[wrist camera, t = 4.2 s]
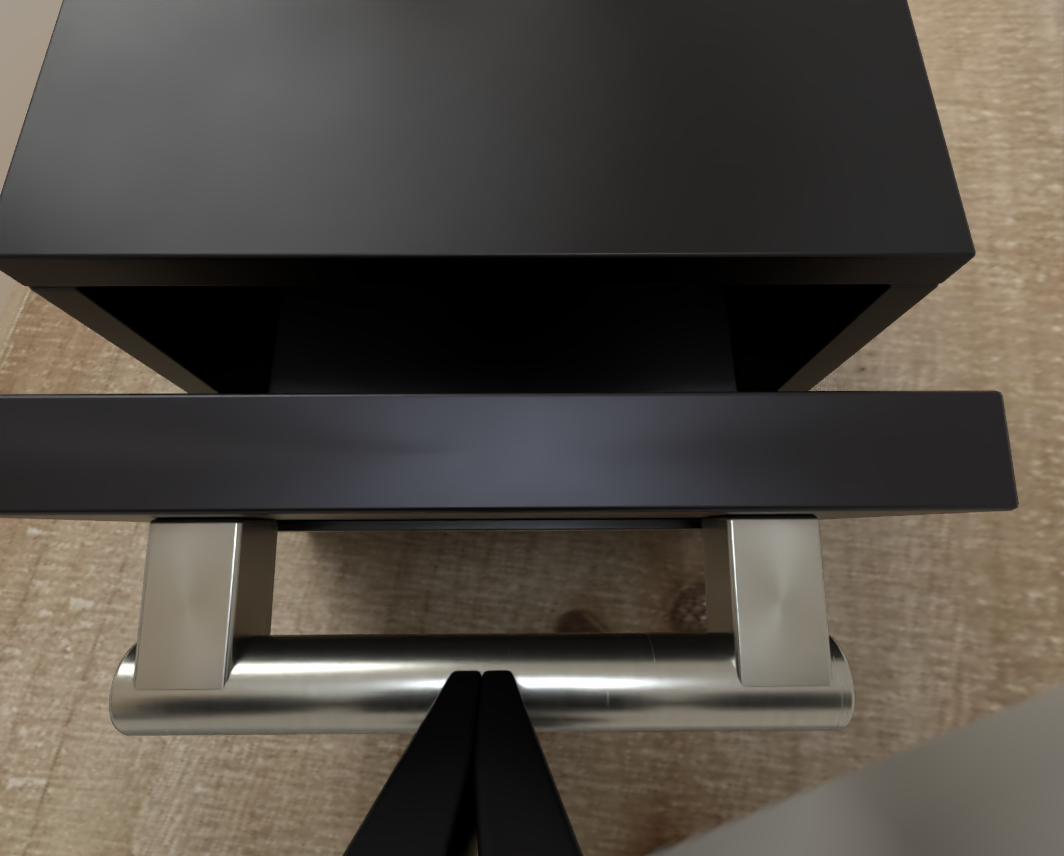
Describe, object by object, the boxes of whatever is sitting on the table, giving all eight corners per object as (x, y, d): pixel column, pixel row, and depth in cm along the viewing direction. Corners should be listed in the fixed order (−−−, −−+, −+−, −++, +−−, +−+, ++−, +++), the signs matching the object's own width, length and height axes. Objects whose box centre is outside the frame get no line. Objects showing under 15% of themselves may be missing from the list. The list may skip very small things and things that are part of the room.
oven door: (721, 622, 20) (1063, 780, 7) (296, 625, 19) (-124, 791, 7) (712, 477, 20) (1005, 388, 8) (305, 479, 20) (-54, 392, 8)
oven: (709, 471, 21) (978, 255, 8) (308, 473, 21) (-23, 258, 8) (675, 129, 25) (816, -339, 13) (347, 130, 25) (171, -343, 13)
